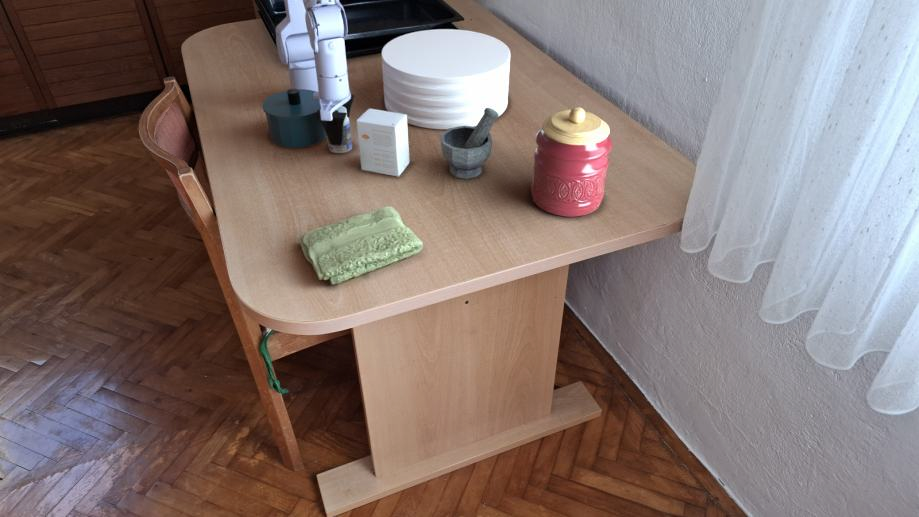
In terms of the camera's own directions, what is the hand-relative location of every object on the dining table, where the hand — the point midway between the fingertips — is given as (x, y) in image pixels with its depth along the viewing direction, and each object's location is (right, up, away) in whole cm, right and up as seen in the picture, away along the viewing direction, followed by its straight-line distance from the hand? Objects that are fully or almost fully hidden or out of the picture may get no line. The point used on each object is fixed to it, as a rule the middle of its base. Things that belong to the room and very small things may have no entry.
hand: (339, 137), depth 131 cm
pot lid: (-9, +7, +2) cm, 12 cm away
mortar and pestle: (+26, -7, -4) cm, 27 cm away
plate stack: (+21, +12, +19) cm, 31 cm away
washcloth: (+8, -23, -24) cm, 35 cm away
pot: (-9, +2, +6) cm, 11 cm away
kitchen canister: (+43, -13, -12) cm, 47 cm away
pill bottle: (0, -2, +2) cm, 3 cm away
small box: (+10, -7, -4) cm, 12 cm away
